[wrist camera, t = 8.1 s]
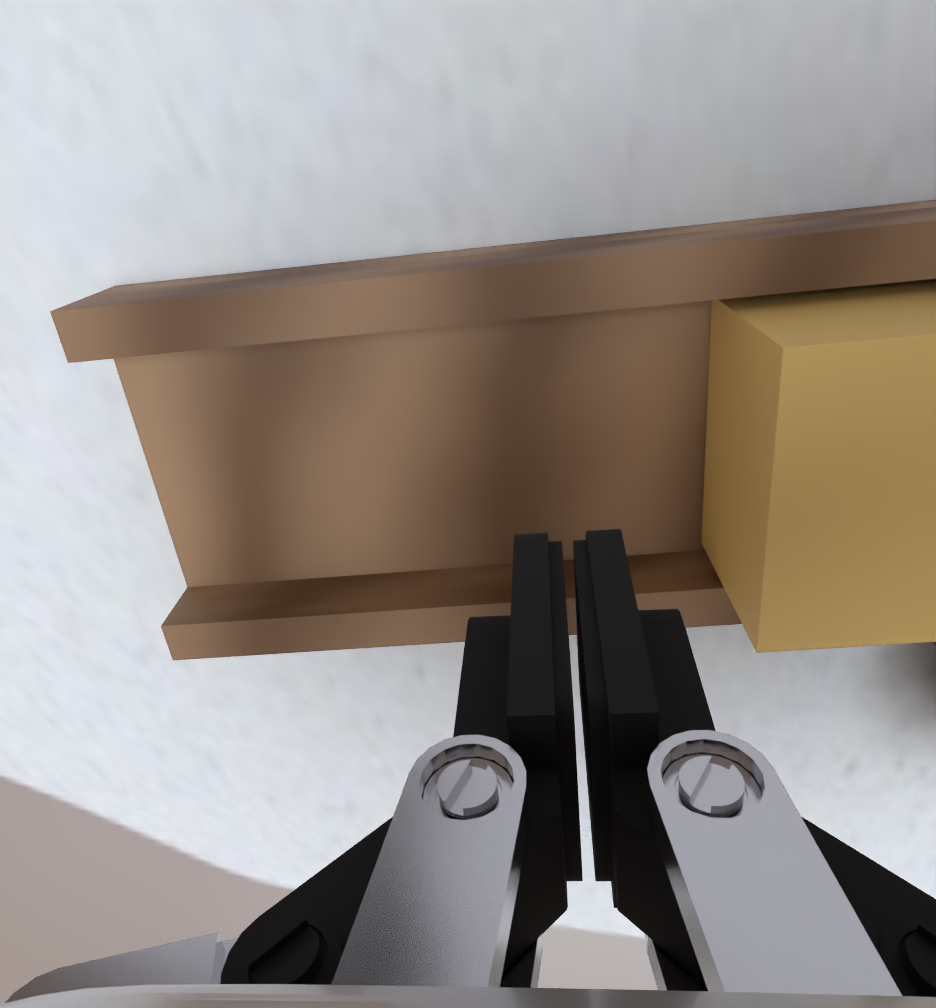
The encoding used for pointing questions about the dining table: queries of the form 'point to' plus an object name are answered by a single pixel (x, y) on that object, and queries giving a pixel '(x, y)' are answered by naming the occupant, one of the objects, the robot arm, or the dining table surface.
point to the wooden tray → (448, 419)
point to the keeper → (824, 464)
